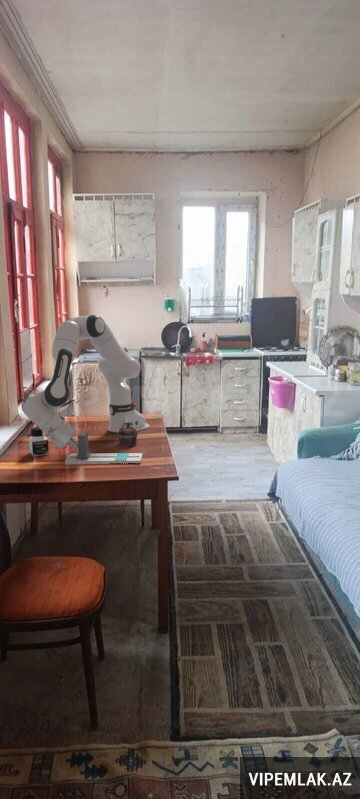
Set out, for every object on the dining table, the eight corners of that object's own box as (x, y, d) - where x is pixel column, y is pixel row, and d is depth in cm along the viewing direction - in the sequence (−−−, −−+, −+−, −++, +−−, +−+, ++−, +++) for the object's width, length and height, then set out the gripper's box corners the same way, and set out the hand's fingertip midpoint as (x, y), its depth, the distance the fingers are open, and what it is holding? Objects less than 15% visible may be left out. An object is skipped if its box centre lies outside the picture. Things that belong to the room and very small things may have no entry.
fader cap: (76, 458, 211) (75, 436, 209) (79, 453, 218) (78, 431, 216) (88, 458, 211) (86, 435, 209) (91, 453, 218) (90, 431, 216)
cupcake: (116, 441, 242) (115, 421, 240) (135, 439, 245) (134, 419, 243) (120, 447, 233) (119, 426, 231) (140, 444, 237) (139, 424, 235)
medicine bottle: (33, 456, 220) (31, 430, 218) (29, 452, 226) (27, 427, 224) (49, 454, 223) (47, 428, 221) (45, 450, 230) (43, 425, 227)
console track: (65, 464, 210) (65, 460, 210) (70, 456, 220) (70, 453, 219) (140, 463, 209) (140, 460, 209) (142, 456, 219) (142, 452, 219)
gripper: (51, 427, 201) (76, 450, 203) (63, 415, 221) (86, 436, 223) (41, 437, 202) (66, 460, 204) (54, 424, 222) (77, 445, 224)
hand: (77, 447), depth 214 cm, fingers closed
